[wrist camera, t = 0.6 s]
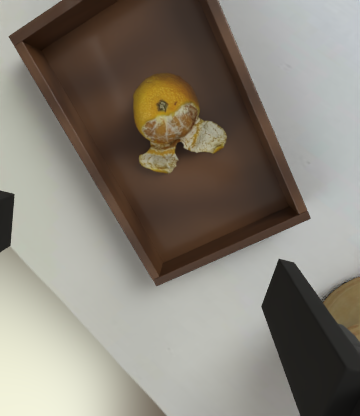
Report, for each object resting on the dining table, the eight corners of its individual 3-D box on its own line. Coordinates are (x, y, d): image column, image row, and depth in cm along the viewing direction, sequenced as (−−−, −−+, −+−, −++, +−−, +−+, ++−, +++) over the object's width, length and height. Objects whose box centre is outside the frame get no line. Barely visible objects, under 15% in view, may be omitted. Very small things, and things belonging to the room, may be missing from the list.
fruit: (151, 180, 29) (144, 187, 25) (112, 98, 27) (99, 94, 23) (230, 145, 27) (235, 148, 24) (195, 56, 25) (195, 45, 22)
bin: (30, 47, 26) (8, 36, 23) (185, -54, 24) (183, -82, 20) (160, 270, 32) (156, 286, 28) (298, 208, 29) (311, 218, 26)
